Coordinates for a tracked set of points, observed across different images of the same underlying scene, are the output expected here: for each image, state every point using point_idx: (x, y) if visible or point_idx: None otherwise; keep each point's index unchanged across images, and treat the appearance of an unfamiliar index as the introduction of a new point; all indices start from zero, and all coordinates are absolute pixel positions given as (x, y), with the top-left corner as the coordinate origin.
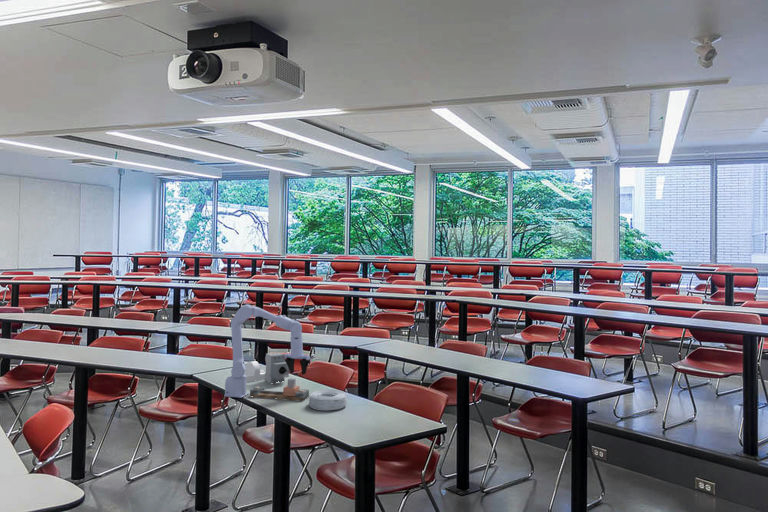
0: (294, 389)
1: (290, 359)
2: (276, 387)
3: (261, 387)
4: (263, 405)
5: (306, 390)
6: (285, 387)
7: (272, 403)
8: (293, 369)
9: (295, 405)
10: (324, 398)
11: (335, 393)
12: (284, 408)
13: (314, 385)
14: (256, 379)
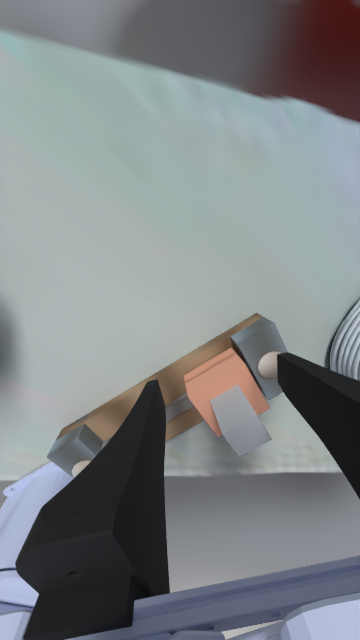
0: (264, 407)
1: (154, 586)
2: (4, 318)
3: (87, 454)
4: (221, 472)
5: (274, 340)
6: (218, 427)
7: (223, 447)
8: (154, 398)
9: (295, 409)
10: None
11: None
12: (290, 445)
13: (80, 97)
14: None
